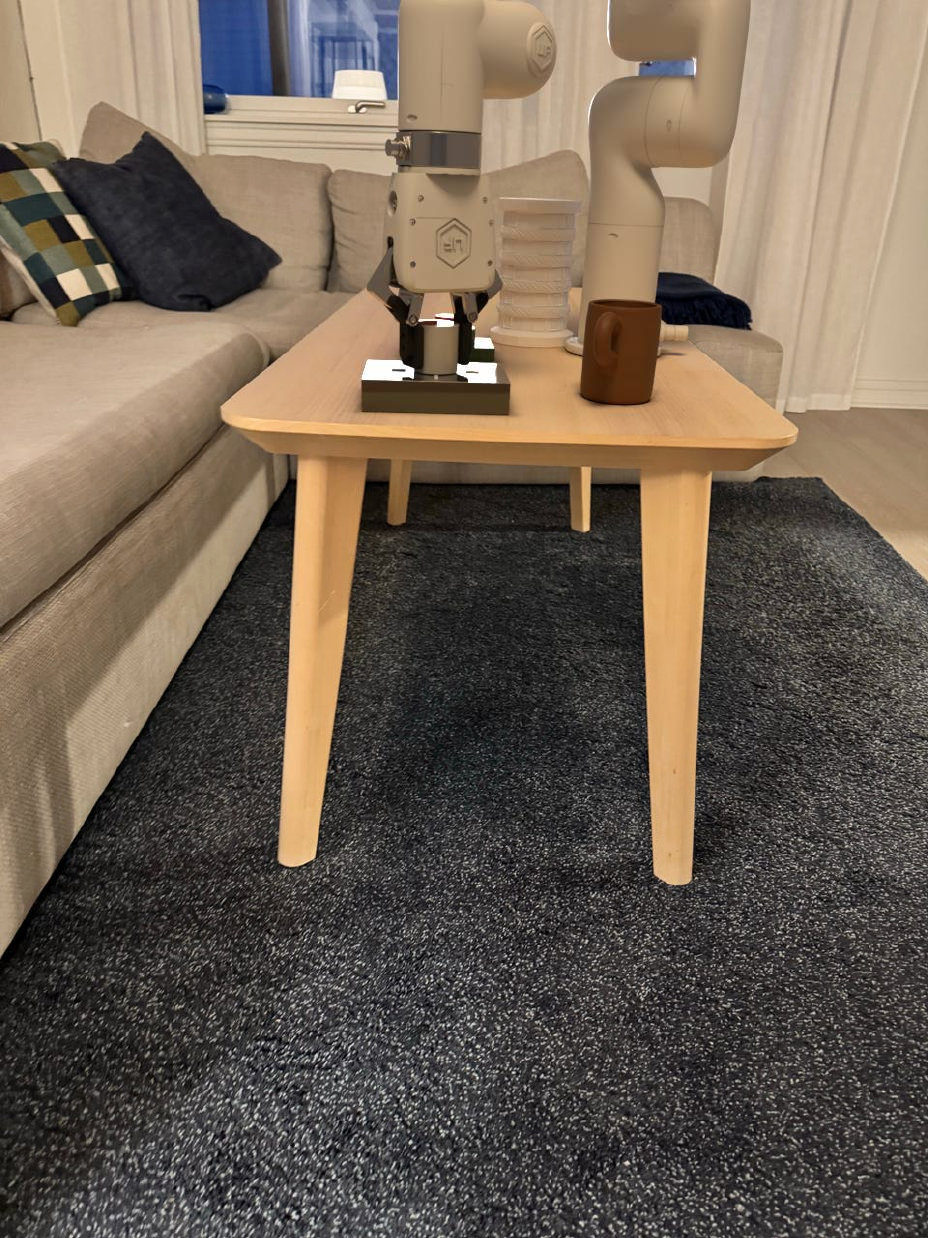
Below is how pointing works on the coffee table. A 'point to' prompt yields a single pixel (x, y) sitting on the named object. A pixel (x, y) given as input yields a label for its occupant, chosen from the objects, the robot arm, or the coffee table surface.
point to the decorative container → (535, 271)
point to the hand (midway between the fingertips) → (435, 362)
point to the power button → (444, 317)
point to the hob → (435, 389)
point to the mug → (620, 350)
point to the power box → (481, 349)
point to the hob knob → (440, 347)
